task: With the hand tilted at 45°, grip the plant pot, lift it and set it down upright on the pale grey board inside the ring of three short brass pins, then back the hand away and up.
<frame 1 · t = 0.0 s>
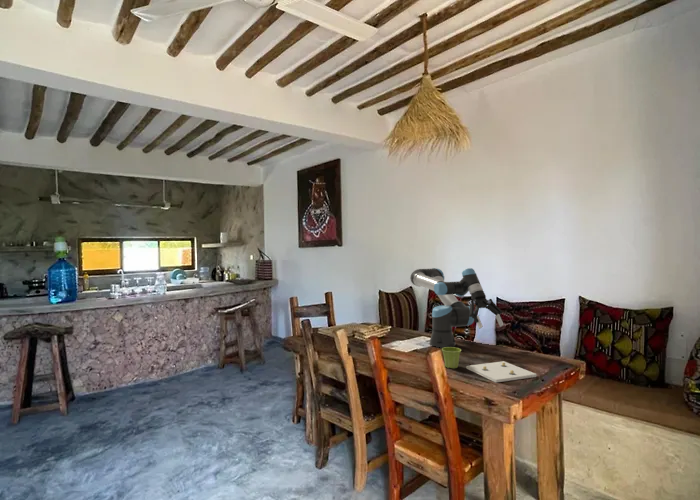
hand: (491, 326, 220), 15 cm above the table, tool tilted 35°, fingers open, 13 cm apart
pin board: (500, 372, 190), on the table
plant pot: (451, 367, 200), on the table
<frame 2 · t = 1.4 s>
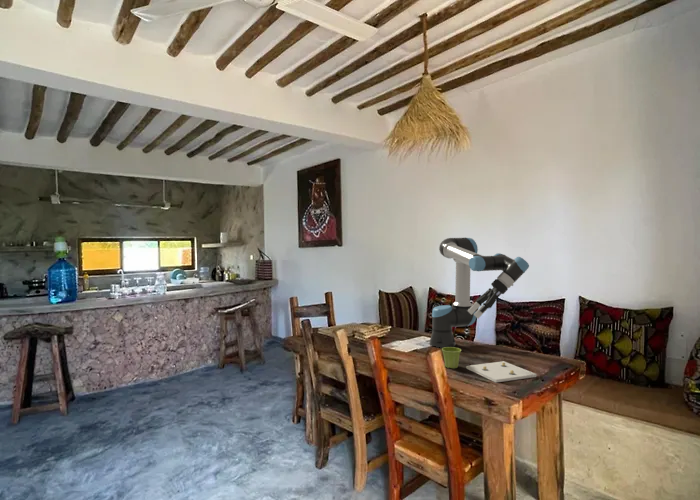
hand: (472, 314, 200), 26 cm above the table, tool tilted 45°, fingers open, 13 cm apart
nothing on the table moved.
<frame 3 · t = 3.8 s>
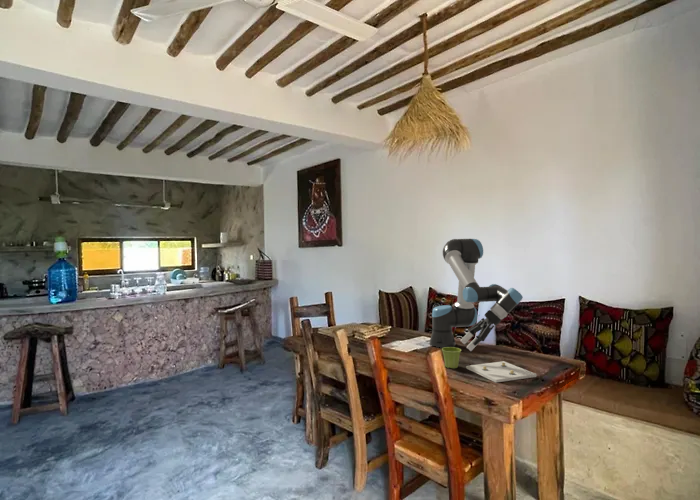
hand: (465, 345, 198), 11 cm above the table, tool tilted 45°, fingers open, 13 cm apart
nothing on the table moved.
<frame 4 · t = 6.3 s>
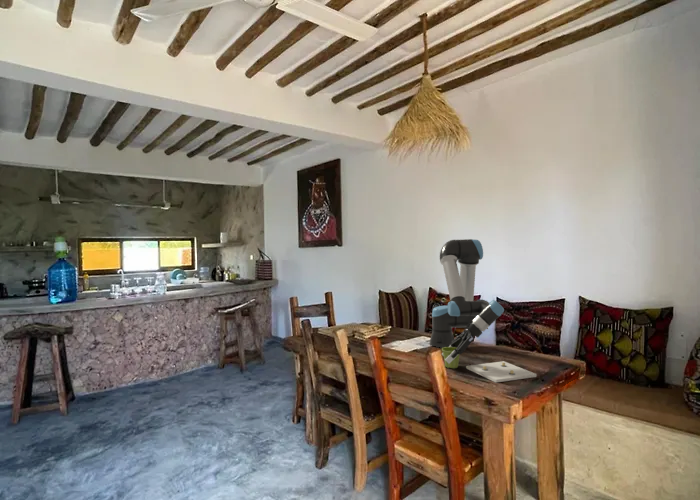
hand: (445, 358, 200), 4 cm above the table, tool tilted 45°, fingers closed on plant pot, 9 cm apart
plant pot: (451, 367, 200), on the table, touching gripper
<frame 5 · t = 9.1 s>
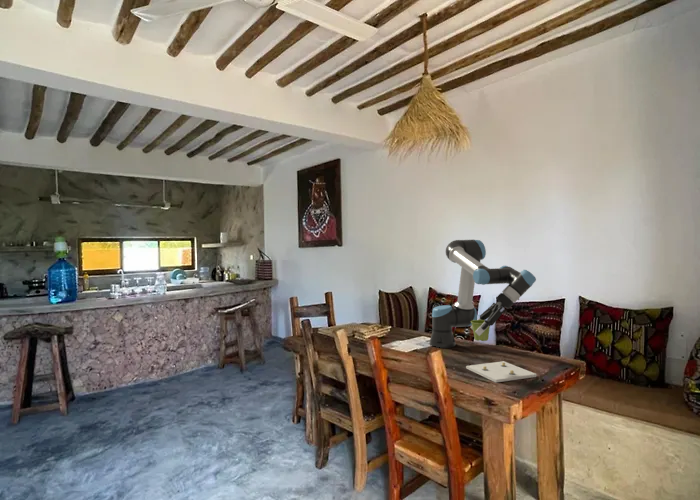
hand: (474, 331, 192), 19 cm above the table, tool tilted 45°, fingers closed on plant pot, 9 cm apart
plant pot: (481, 340, 192), point 15 cm above the table, touching gripper
when the fingers open (6 cm above the table, at t = 12.3 s): plant pot drops 1 cm, resting on pin board.
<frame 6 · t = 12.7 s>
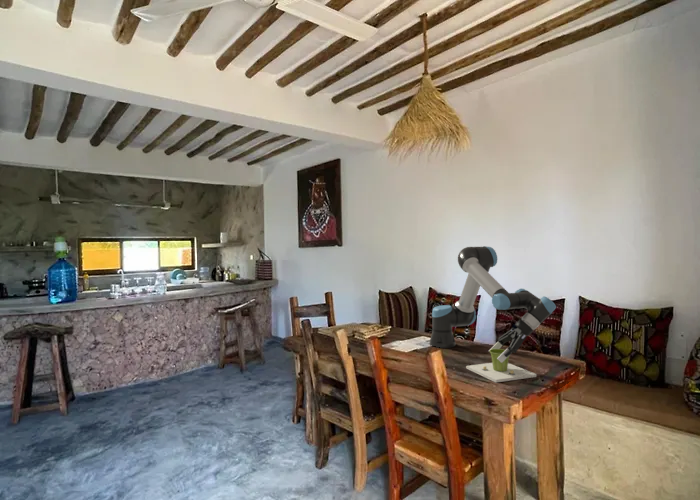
hand: (494, 356, 190), 7 cm above the table, tool tilted 45°, fingers open, 13 cm apart
plant pot: (500, 370, 190), point 1 cm above the table, touching pin board
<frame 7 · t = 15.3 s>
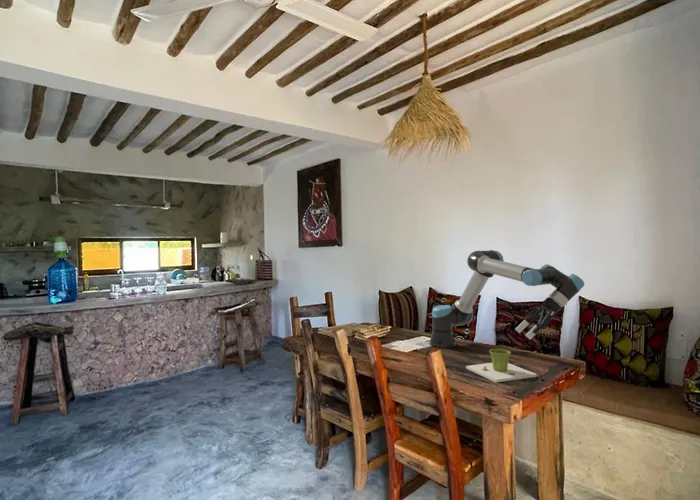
hand: (522, 334, 189), 18 cm above the table, tool tilted 45°, fingers open, 13 cm apart
nothing on the table moved.
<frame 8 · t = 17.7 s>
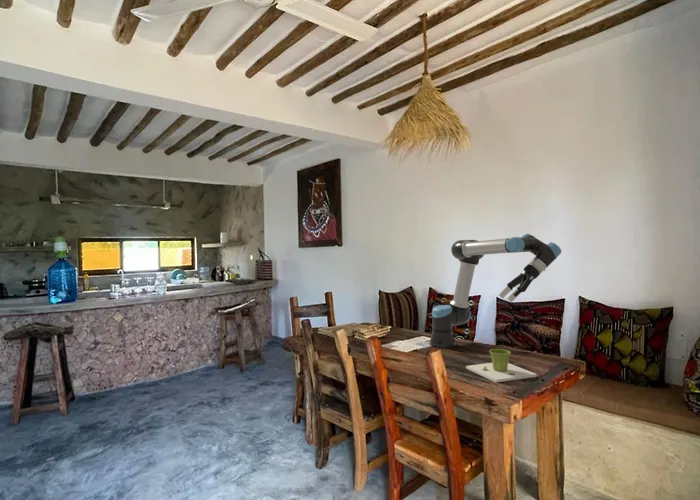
hand: (504, 298, 205), 33 cm above the table, tool tilted 45°, fingers open, 13 cm apart
nothing on the table moved.
at the end: plant pot 0.1 cm off-centre on the pin board, point 1.0 cm above the pin board's base; plant pot tilted 0°; the gripper is holding nothing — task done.
